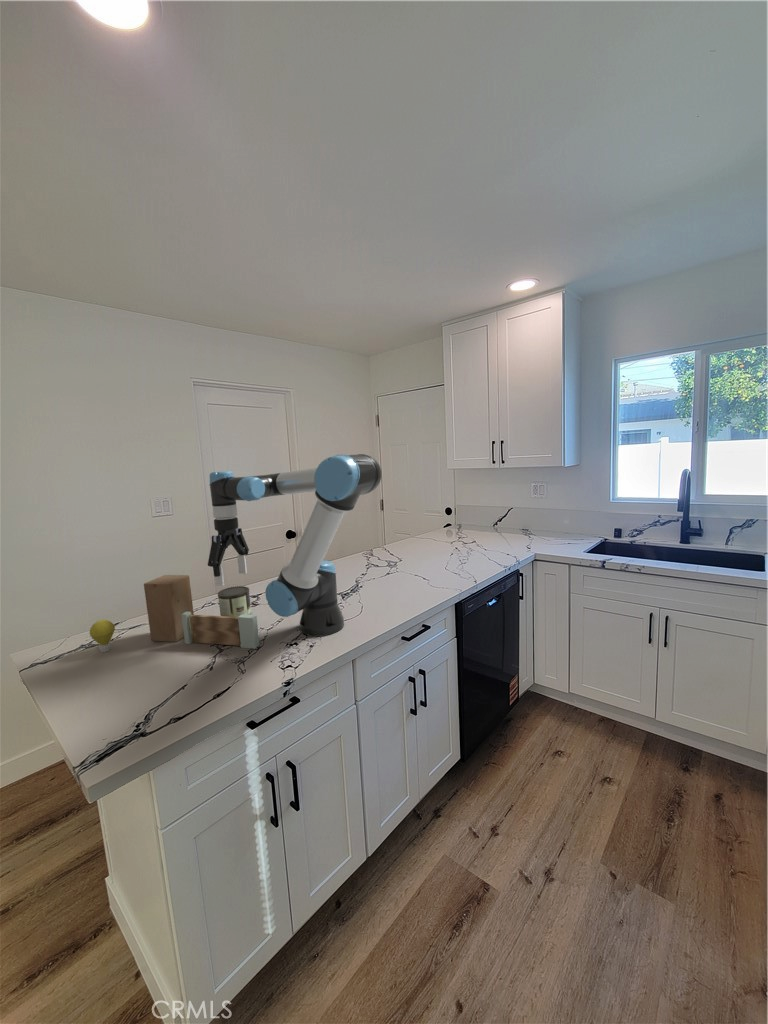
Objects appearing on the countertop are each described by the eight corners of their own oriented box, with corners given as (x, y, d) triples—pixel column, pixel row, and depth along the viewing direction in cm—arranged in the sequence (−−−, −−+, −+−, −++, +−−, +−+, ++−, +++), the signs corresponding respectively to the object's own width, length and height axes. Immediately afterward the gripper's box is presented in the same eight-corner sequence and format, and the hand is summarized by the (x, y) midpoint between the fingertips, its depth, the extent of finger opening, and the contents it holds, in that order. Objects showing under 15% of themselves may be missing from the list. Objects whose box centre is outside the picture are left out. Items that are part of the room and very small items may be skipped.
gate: (242, 643, 134) (239, 617, 132) (240, 645, 133) (237, 618, 131) (193, 640, 138) (190, 614, 137) (191, 642, 137) (188, 615, 135)
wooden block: (177, 642, 138) (169, 583, 135) (150, 641, 140) (142, 583, 137) (196, 629, 148) (189, 574, 145) (171, 628, 150) (164, 574, 147)
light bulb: (122, 646, 137) (118, 617, 135) (103, 656, 130) (98, 625, 129) (107, 644, 139) (103, 615, 138) (87, 653, 133) (82, 623, 131)
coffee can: (237, 622, 152) (233, 584, 150) (259, 625, 148) (255, 587, 146) (215, 633, 143) (210, 594, 141) (238, 638, 139) (233, 597, 137)
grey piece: (259, 644, 133) (256, 614, 132) (255, 648, 131) (252, 617, 129) (190, 639, 139) (187, 611, 138) (184, 643, 137) (181, 614, 135)
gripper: (236, 512, 153) (242, 568, 156) (190, 524, 129) (198, 590, 132) (255, 511, 151) (260, 569, 154) (212, 524, 127) (219, 591, 130)
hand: (232, 579), depth 143 cm, fingers open, 13 cm apart
